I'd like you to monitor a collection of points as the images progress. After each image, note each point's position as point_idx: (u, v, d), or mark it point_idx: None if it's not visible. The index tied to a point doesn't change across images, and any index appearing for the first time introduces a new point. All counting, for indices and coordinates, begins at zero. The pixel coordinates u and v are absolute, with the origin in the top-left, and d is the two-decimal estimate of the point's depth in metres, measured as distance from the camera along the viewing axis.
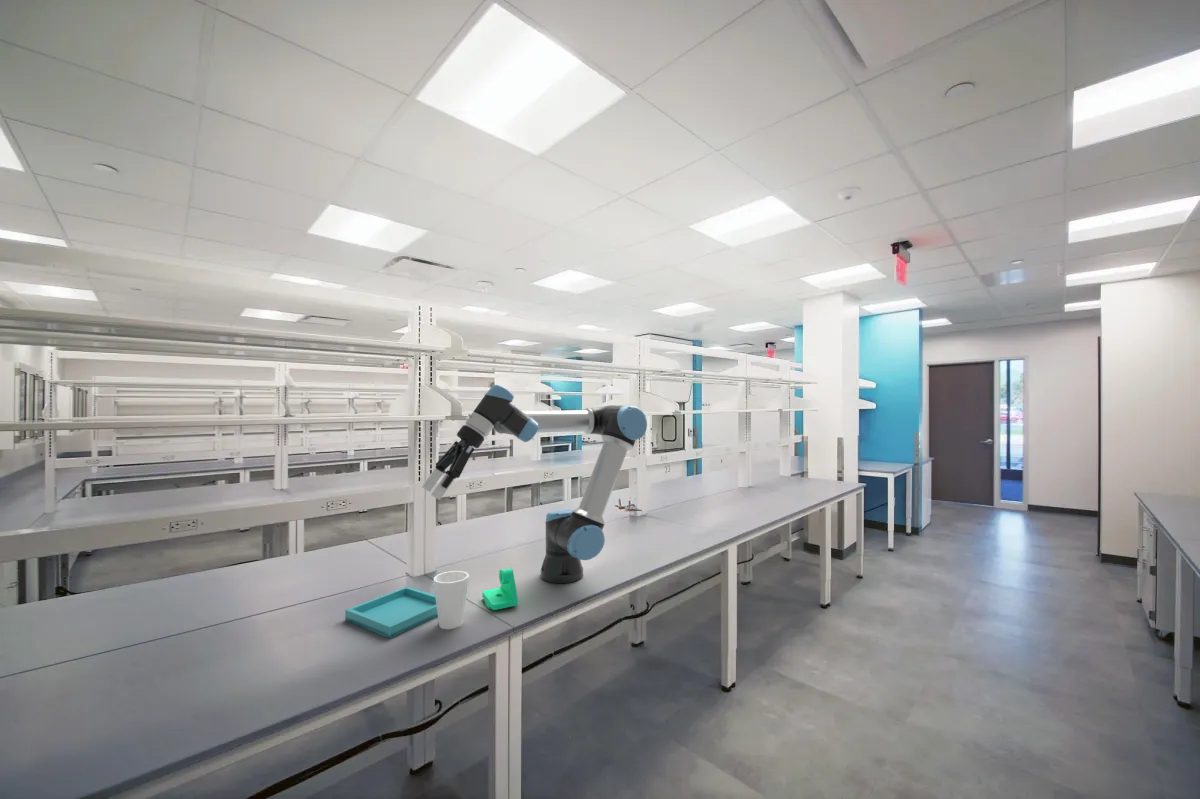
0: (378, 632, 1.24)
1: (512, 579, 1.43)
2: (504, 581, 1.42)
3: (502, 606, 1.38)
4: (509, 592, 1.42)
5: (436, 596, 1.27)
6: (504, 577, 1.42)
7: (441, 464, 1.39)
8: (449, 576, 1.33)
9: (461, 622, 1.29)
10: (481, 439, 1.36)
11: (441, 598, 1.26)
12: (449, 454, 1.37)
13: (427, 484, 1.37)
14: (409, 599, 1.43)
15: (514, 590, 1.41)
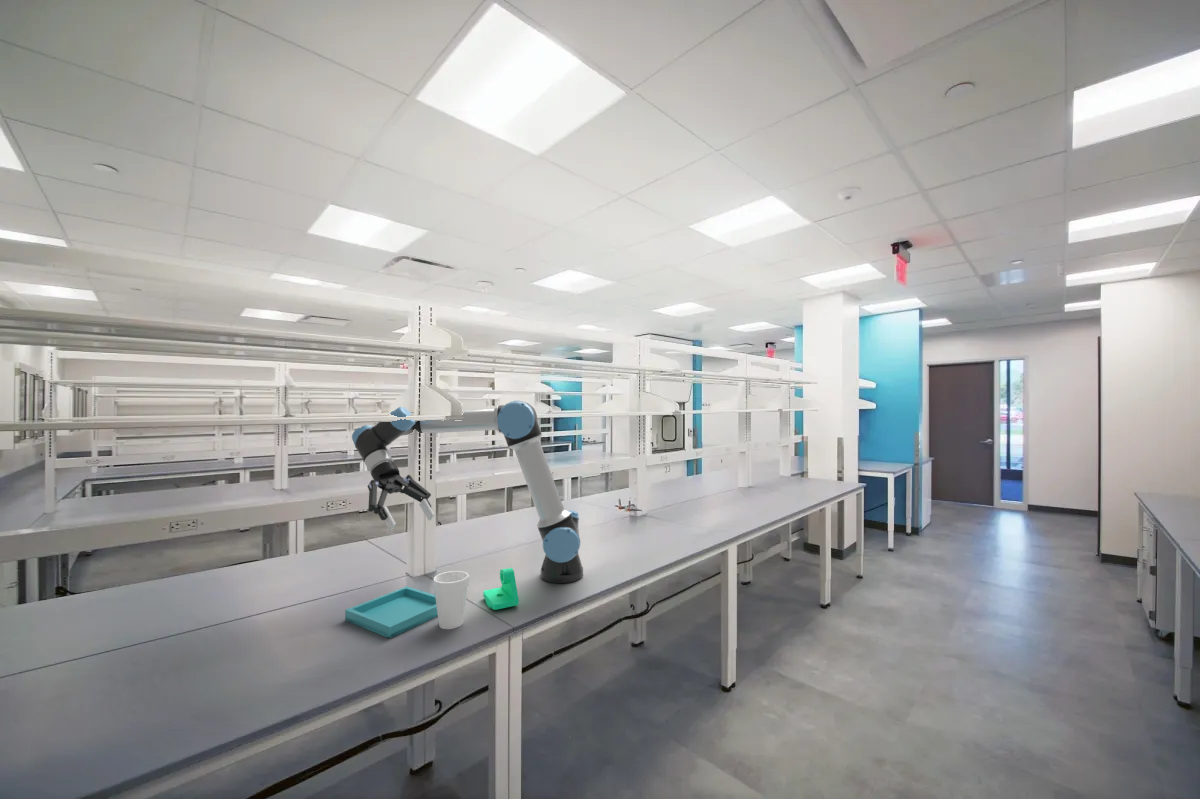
0: (378, 632, 1.24)
1: (513, 579, 1.43)
2: (505, 581, 1.42)
3: (503, 606, 1.38)
4: (509, 592, 1.43)
5: (436, 596, 1.27)
6: (505, 577, 1.42)
7: (416, 498, 1.47)
8: (449, 576, 1.33)
9: (461, 622, 1.29)
10: (379, 466, 1.42)
11: (441, 598, 1.26)
12: (402, 492, 1.46)
13: (427, 515, 1.45)
14: (409, 599, 1.43)
15: (515, 590, 1.41)
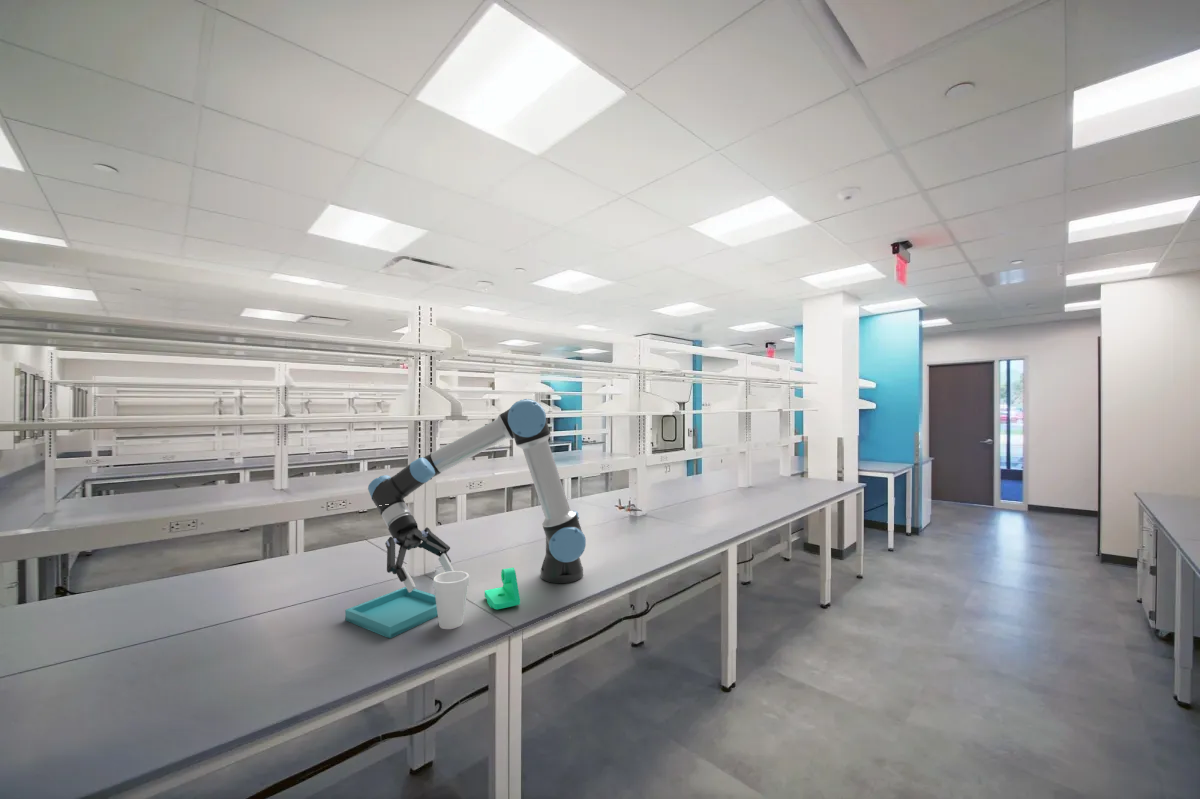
0: (378, 632, 1.24)
1: (514, 579, 1.43)
2: (506, 581, 1.42)
3: (504, 606, 1.38)
4: (511, 592, 1.43)
5: (436, 596, 1.27)
6: (506, 577, 1.42)
7: (435, 553, 1.41)
8: (449, 576, 1.33)
9: (461, 622, 1.29)
10: (396, 522, 1.37)
11: (441, 598, 1.26)
12: (420, 547, 1.40)
13: (447, 571, 1.39)
14: (409, 599, 1.43)
15: (516, 590, 1.41)
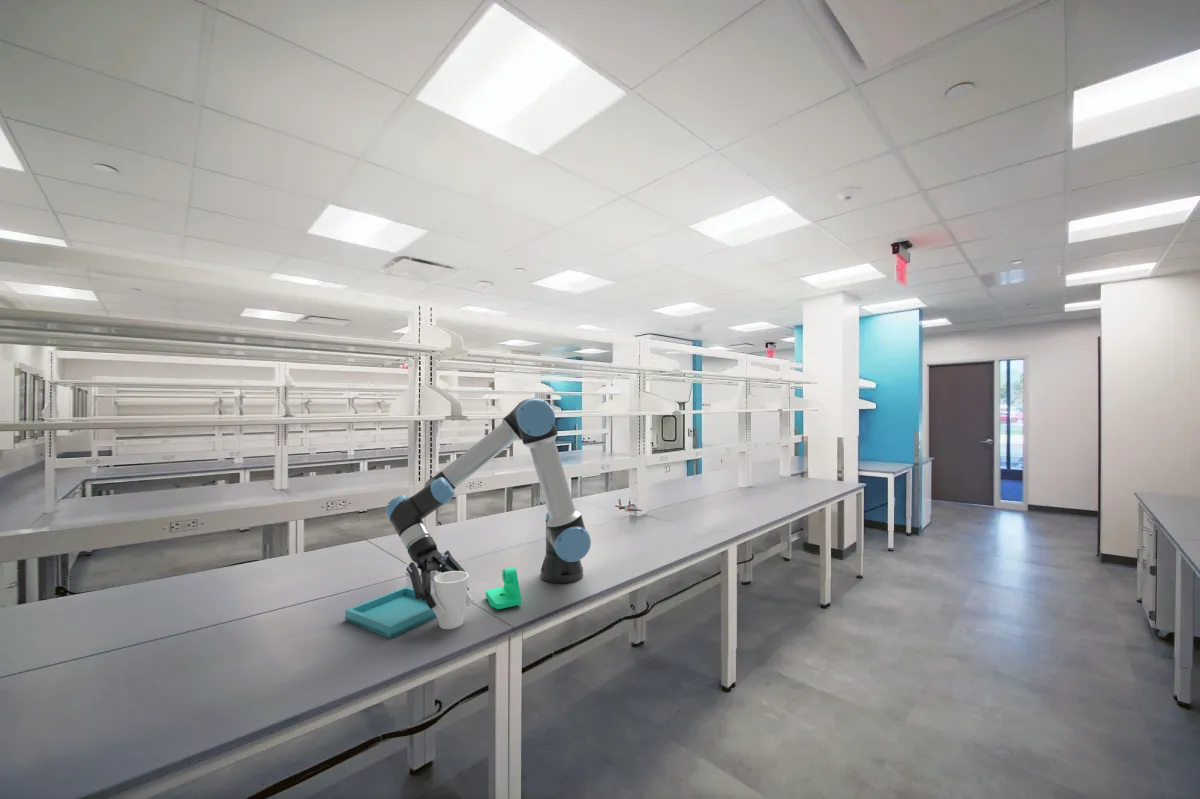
0: (378, 632, 1.24)
1: (515, 578, 1.43)
2: (507, 580, 1.43)
3: (506, 605, 1.38)
4: (512, 592, 1.43)
5: (436, 596, 1.27)
6: (507, 576, 1.43)
7: None
8: (449, 576, 1.33)
9: (461, 622, 1.29)
10: (416, 544, 1.33)
11: (441, 598, 1.26)
12: (439, 571, 1.36)
13: None
14: (409, 599, 1.43)
15: (517, 589, 1.42)
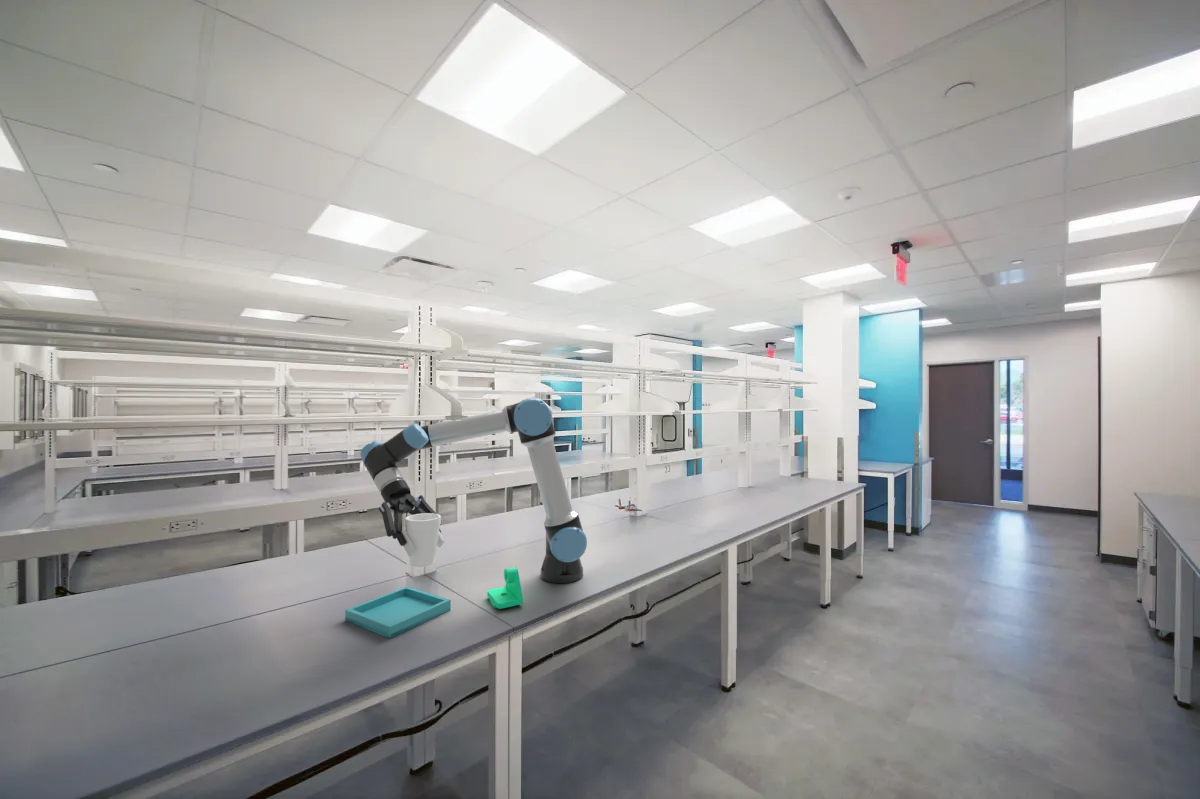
0: (378, 632, 1.24)
1: (517, 578, 1.43)
2: (509, 580, 1.43)
3: (507, 605, 1.38)
4: (514, 591, 1.43)
5: (407, 534, 1.29)
6: (509, 576, 1.43)
7: None
8: (421, 518, 1.36)
9: (432, 561, 1.31)
10: (389, 486, 1.35)
11: (412, 536, 1.28)
12: (412, 513, 1.38)
13: (437, 541, 1.36)
14: (409, 599, 1.43)
15: (519, 589, 1.42)
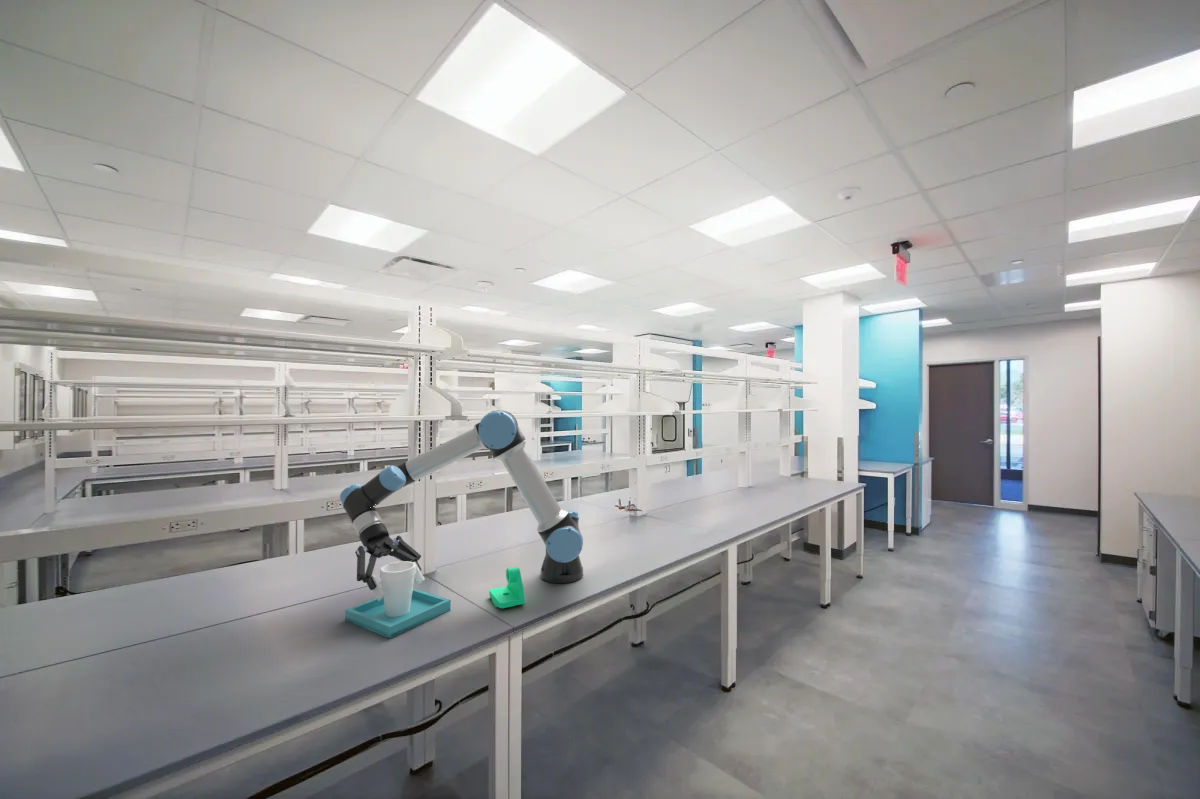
0: (378, 632, 1.24)
1: (519, 578, 1.44)
2: (511, 580, 1.43)
3: (509, 604, 1.39)
4: (516, 591, 1.44)
5: (382, 585, 1.32)
6: (511, 576, 1.43)
7: None
8: (397, 566, 1.38)
9: (407, 610, 1.34)
10: (367, 530, 1.39)
11: (387, 587, 1.31)
12: (391, 555, 1.42)
13: (417, 579, 1.40)
14: None
15: (521, 589, 1.42)
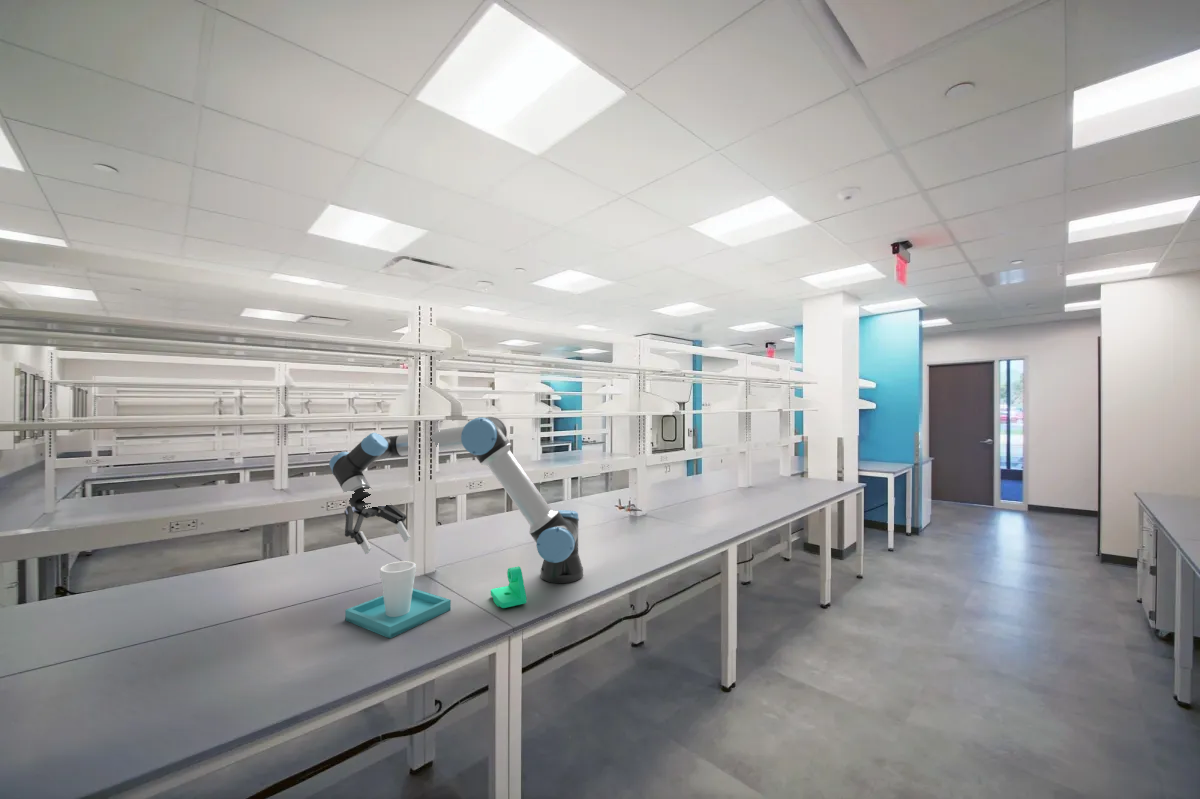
0: (378, 632, 1.24)
1: (520, 577, 1.44)
2: (512, 579, 1.43)
3: (511, 604, 1.39)
4: (517, 591, 1.44)
5: (382, 585, 1.32)
6: (512, 575, 1.43)
7: (392, 521, 1.54)
8: (397, 566, 1.38)
9: (407, 610, 1.34)
10: (355, 492, 1.49)
11: (387, 587, 1.31)
12: (378, 516, 1.53)
13: (403, 537, 1.51)
14: None
15: (522, 588, 1.42)
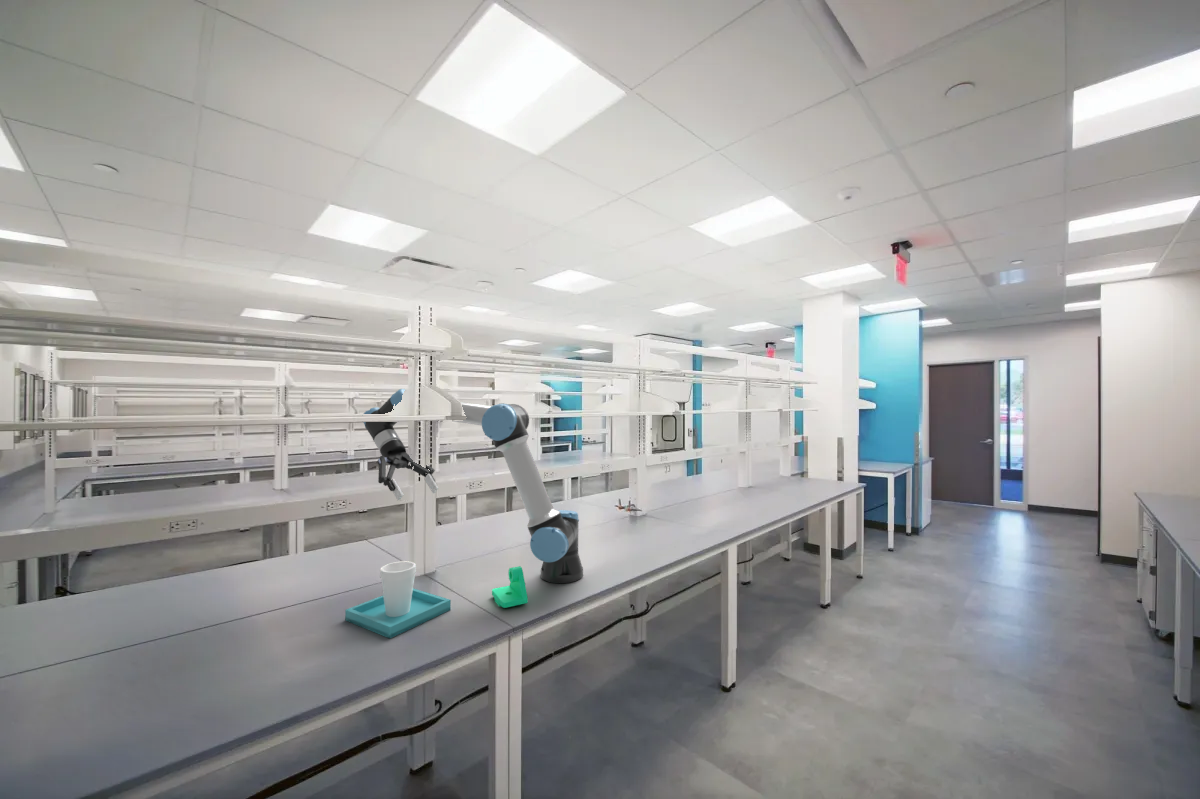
0: (378, 632, 1.24)
1: (522, 577, 1.44)
2: (514, 579, 1.44)
3: (512, 604, 1.39)
4: (518, 590, 1.44)
5: (382, 585, 1.32)
6: (514, 575, 1.44)
7: (421, 473, 1.61)
8: (397, 566, 1.38)
9: (407, 610, 1.34)
10: (387, 444, 1.56)
11: (387, 587, 1.31)
12: (408, 468, 1.60)
13: (432, 488, 1.59)
14: None
15: (524, 588, 1.43)
